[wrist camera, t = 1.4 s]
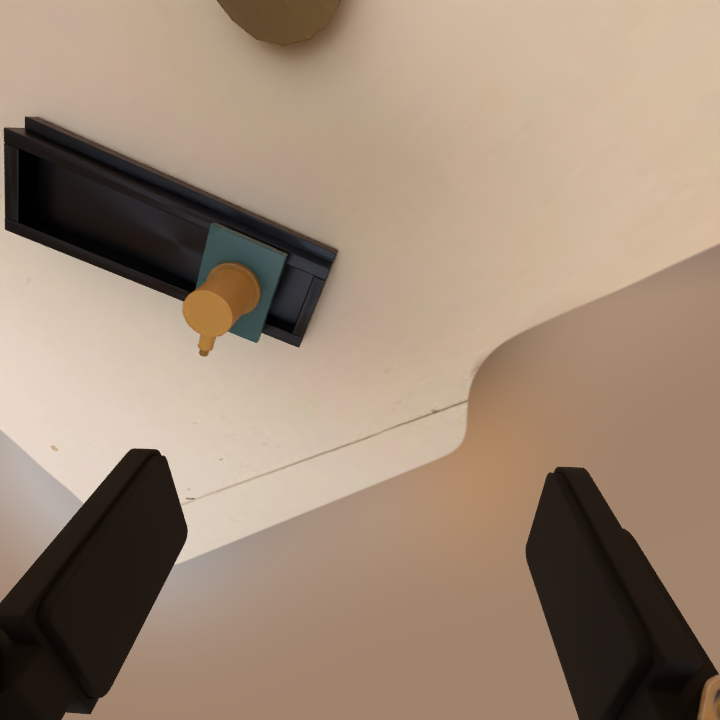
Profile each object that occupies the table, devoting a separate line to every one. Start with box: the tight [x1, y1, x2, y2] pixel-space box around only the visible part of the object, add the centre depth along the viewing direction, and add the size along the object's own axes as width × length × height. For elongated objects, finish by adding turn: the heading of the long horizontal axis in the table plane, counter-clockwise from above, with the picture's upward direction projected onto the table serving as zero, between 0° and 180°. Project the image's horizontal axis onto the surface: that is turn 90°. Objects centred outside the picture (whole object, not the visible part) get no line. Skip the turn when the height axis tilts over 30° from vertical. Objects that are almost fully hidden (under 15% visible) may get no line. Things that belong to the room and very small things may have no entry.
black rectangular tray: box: [4, 117, 338, 347], centre depth 32 cm, size 24×9×3 cm, turn 67°
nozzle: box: [183, 222, 288, 356], centre depth 29 cm, size 6×8×8 cm
